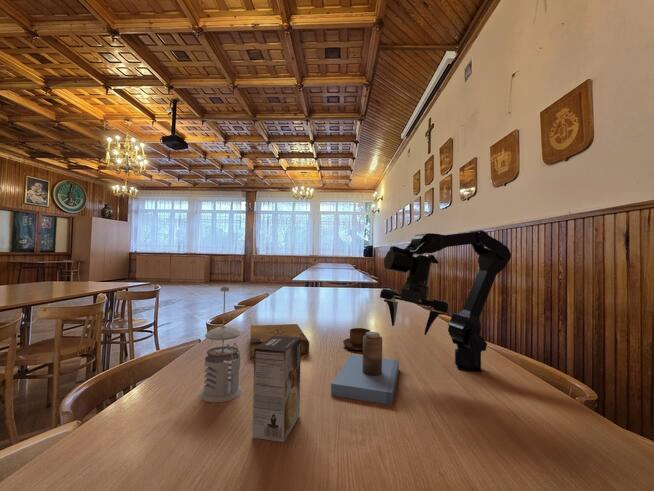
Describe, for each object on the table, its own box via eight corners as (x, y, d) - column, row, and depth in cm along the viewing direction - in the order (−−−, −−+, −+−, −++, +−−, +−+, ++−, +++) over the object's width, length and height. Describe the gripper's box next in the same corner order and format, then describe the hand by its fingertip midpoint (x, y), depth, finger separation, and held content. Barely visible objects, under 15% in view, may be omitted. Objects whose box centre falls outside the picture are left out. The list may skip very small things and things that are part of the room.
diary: (309, 357, 98) (309, 339, 98) (250, 360, 93) (250, 342, 93) (298, 337, 120) (298, 323, 120) (250, 340, 115) (250, 325, 116)
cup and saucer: (344, 341, 115) (344, 325, 115) (376, 343, 113) (376, 327, 113) (341, 351, 103) (342, 333, 103) (377, 354, 101) (377, 336, 101)
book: (398, 370, 88) (398, 359, 88) (391, 406, 66) (391, 392, 67) (351, 364, 92) (351, 354, 92) (330, 396, 71) (331, 383, 71)
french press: (231, 379, 78) (234, 283, 79) (254, 395, 70) (257, 287, 70) (192, 391, 71) (196, 285, 72) (213, 410, 63) (217, 290, 63)
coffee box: (270, 412, 62) (272, 334, 63) (300, 416, 61) (302, 336, 62) (250, 438, 53) (253, 347, 54) (284, 443, 52) (287, 350, 53)
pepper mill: (385, 372, 78) (386, 333, 78) (374, 377, 75) (374, 337, 75) (370, 367, 82) (370, 330, 82) (358, 371, 78) (359, 333, 79)
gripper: (379, 267, 84) (368, 323, 83) (450, 280, 75) (439, 343, 74) (389, 271, 94) (380, 321, 92) (453, 283, 85) (444, 338, 84)
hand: (408, 330), depth 85 cm, fingers open, 9 cm apart
